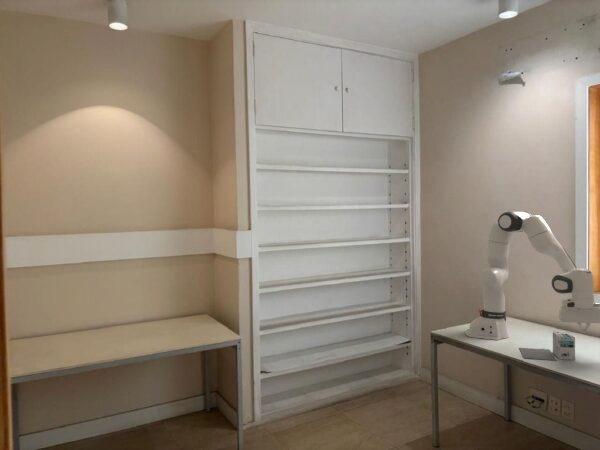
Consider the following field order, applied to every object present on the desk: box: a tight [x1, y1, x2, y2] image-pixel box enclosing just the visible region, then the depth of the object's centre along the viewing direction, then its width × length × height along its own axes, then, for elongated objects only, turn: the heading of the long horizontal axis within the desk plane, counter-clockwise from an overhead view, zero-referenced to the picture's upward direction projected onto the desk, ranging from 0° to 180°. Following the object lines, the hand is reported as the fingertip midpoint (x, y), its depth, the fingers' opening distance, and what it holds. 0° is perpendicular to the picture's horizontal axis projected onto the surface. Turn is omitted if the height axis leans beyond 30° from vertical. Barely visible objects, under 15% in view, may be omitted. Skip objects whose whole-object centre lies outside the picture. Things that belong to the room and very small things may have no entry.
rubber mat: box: [518, 347, 558, 362], centre depth 229 cm, size 14×16×1 cm
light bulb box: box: [552, 330, 576, 361], centre depth 226 cm, size 11×7×11 cm, turn 170°
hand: (583, 331), depth 223 cm, fingers closed
